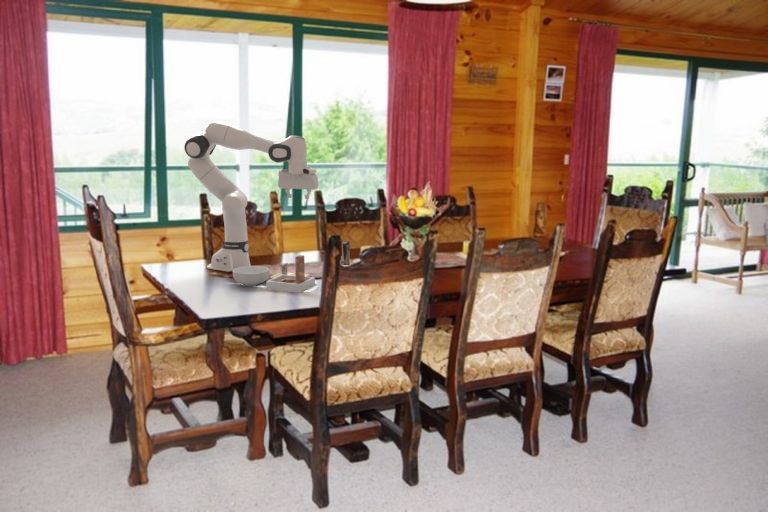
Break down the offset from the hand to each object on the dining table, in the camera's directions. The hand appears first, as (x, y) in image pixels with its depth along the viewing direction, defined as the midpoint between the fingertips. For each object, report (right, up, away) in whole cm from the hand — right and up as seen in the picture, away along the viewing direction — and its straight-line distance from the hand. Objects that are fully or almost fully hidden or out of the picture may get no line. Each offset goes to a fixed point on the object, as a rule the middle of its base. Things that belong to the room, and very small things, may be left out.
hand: (298, 198), depth 341 cm
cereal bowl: (-19, -41, -17) cm, 49 cm away
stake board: (-3, -39, -4) cm, 39 cm away
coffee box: (+21, -37, +4) cm, 43 cm away
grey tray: (0, -42, -23) cm, 48 cm away
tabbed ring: (0, -42, -23) cm, 47 cm away
